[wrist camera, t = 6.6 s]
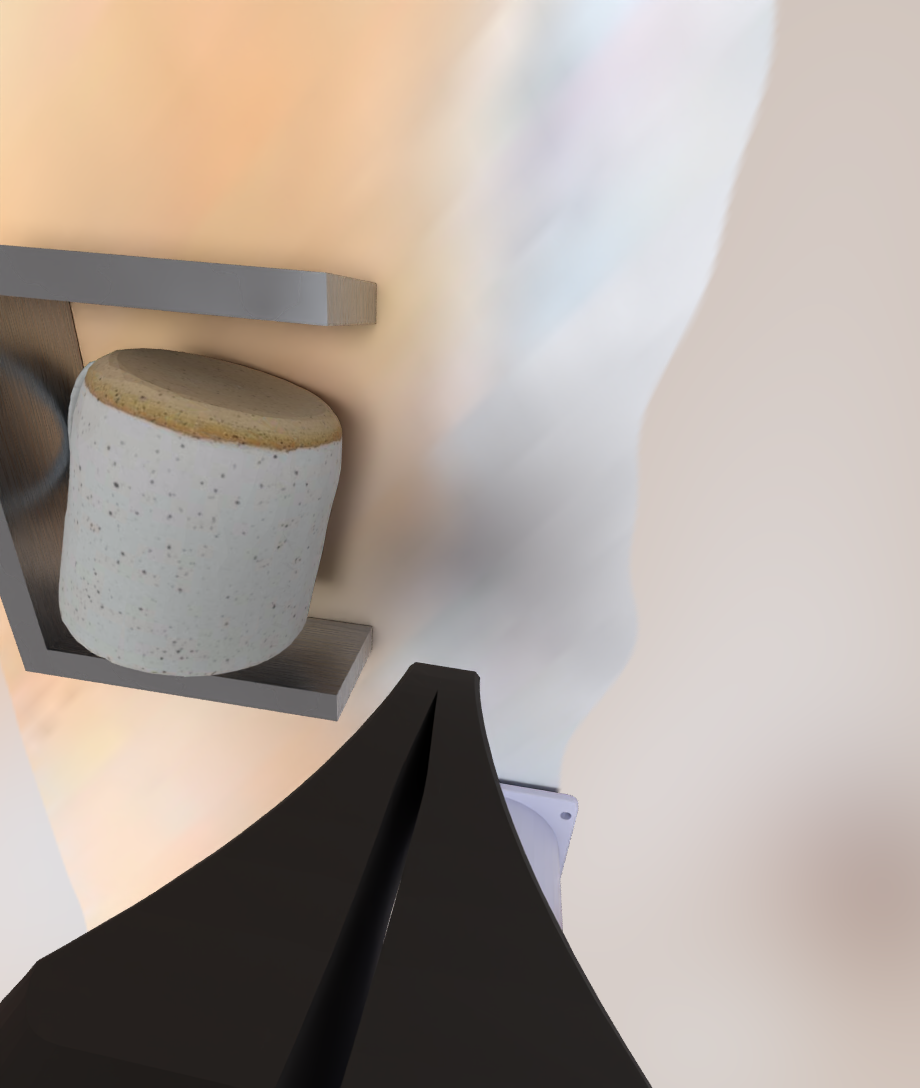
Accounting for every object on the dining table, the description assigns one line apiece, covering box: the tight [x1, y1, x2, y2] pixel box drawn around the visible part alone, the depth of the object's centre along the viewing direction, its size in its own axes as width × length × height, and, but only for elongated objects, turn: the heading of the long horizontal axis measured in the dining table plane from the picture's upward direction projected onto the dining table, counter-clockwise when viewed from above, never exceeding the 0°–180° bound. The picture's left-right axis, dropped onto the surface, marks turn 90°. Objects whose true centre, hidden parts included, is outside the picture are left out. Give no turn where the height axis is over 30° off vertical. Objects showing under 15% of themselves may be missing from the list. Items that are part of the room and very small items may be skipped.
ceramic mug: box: [59, 348, 342, 677], centre depth 16 cm, size 11×8×8 cm
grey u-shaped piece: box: [0, 245, 376, 721], centre depth 18 cm, size 14×12×4 cm
